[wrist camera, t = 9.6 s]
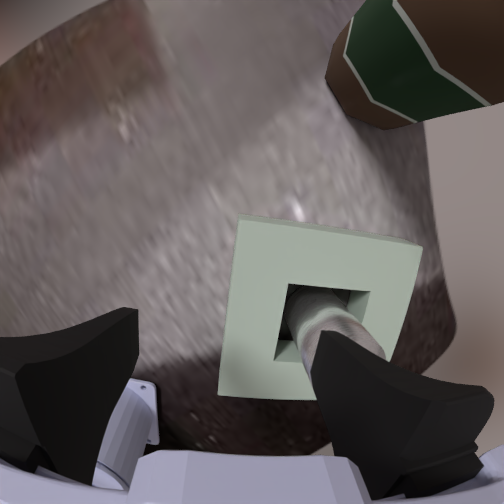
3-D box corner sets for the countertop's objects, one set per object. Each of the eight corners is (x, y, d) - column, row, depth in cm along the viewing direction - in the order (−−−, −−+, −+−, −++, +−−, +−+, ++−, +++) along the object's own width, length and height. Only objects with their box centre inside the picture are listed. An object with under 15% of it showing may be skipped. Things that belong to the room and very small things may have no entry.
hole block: (219, 370, 22) (217, 394, 19) (238, 213, 20) (238, 219, 17) (362, 376, 23) (374, 397, 20) (401, 238, 20) (423, 247, 18)
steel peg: (280, 333, 22) (303, 404, 14) (289, 281, 21) (321, 337, 13) (331, 335, 22) (372, 400, 14) (343, 286, 21) (395, 338, 13)
